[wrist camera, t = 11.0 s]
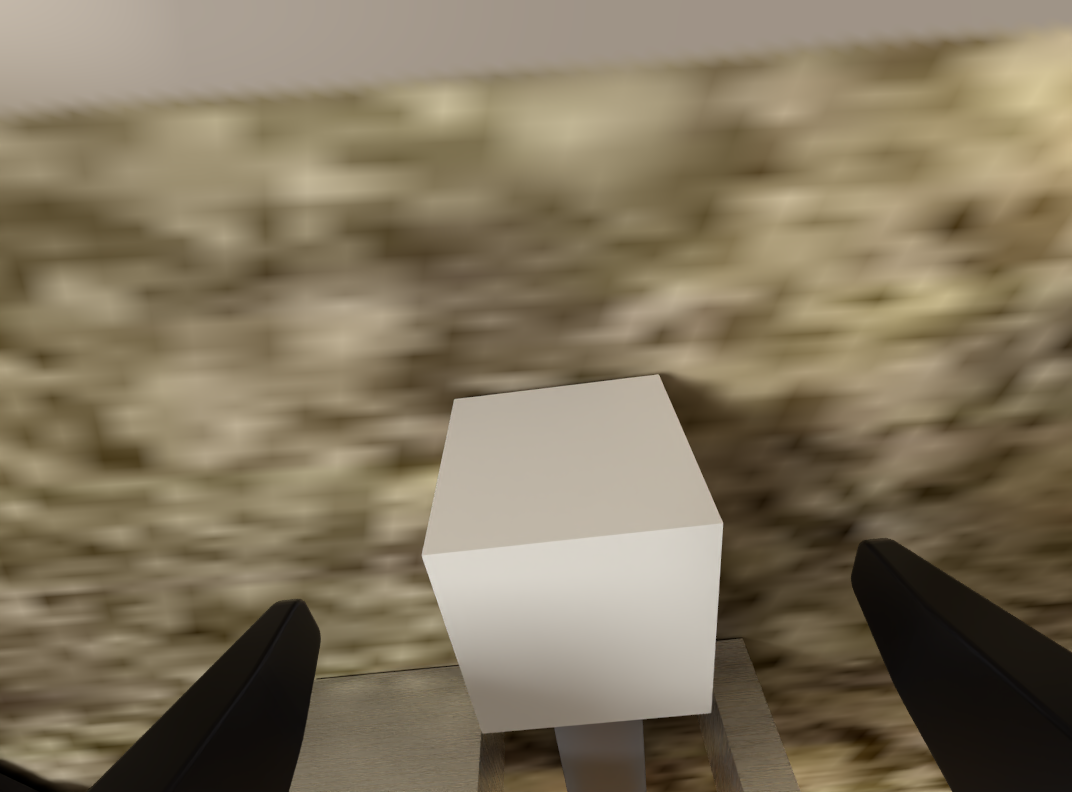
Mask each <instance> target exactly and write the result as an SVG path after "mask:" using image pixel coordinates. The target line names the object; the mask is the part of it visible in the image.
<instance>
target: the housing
mask: <svg viewBox="0 0 1072 792" xmlns="http://www.w3.org/2000/svg"><path fill="white" fill-rule="evenodd" d="M697 717H698V721H699V725H700V728H701V732H702V736H703V740H704V743H705V747H706V751H707V755H708V759H709V762H710V766H711V770H712V774H713V777H714V781H715V785H716V789H717V792H801V791H800V789H799V786H798V783H797V781H796V778H795V776H794V773H793V770H792V768H791V765H790V762H789V760H788V757H787V754H786V752H785V749H784V747H783V744H782V741H781V739H780V736H779V733H778V731H777V728H776V725H775V723H774V720H773V718H772V715H771V712H770V710H769V707H768V704H767V702H766V699H765V697H764V694H763V691H762V689H761V686H760V683H759V681H758V678H757V675H756V673H755V670H754V668H753V665H752V662H751V660H750V657H749V654H748V652H747V649H746V646H745V644H744V641H743V639H732V640H721V641H716V644H715V660H714V676H713V692H712V707H711V713H706V714H697ZM504 753H505V732H495V733H484V734H482V731H481V728H480V725H479V723H478V720H477V717H476V714H475V711H474V708H473V705H472V702H471V699H470V696H469V693H468V690H467V687H466V684H465V681H464V678H463V675H462V672H461V670H460V667H459V666H452V667H441V668H431V669H421V670H410V671H400V672H390V673H379V674H369V675H359V676H348V677H338V678H327V679H317V680H314V683H313V689H312V694H311V700H310V706H309V711H308V717H307V723H306V728H305V733H304V738H303V742H302V746H301V750H300V754H299V758H298V761H297V765H296V768H295V772H294V775H293V779H292V783H291V786H290V790H289V792H503V788H504Z"/></svg>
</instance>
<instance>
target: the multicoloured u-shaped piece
mask: <svg viewBox="0 0 1072 792" xmlns="http://www.w3.org/2000/svg"><path fill="white" fill-rule="evenodd" d="M722 534H723V522H722V519H721V517H720V515H719V512H718V510H717V508H716V505H715V503H714V501H713V498H712V496H711V494H710V492H709V489H708V487H707V485H706V482H705V480H704V478H703V475H702V473H701V471H700V468H699V466H698V464H697V462H696V459H695V457H694V455H693V452H692V450H691V448H690V445H689V443H688V441H687V438H686V436H685V434H684V431H683V429H682V427H681V425H680V422H679V420H678V418H677V415H676V413H675V411H674V408H673V406H672V404H671V401H670V399H669V397H668V395H667V392H666V390H665V388H664V385H663V383H662V381H661V378H660V376H659V374H658V375H649V376H641V377H633V378H625V379H617V380H608V381H600V382H592V383H584V384H576V385H567V386H559V387H551V388H543V389H535V390H526V391H518V392H510V393H502V394H494V395H485V396H477V397H469V398H461V399H454V403H453V408H452V413H451V418H450V422H449V427H448V432H447V437H446V442H445V446H444V451H443V456H442V461H441V466H440V470H439V475H438V480H437V485H436V490H435V494H434V499H433V504H432V509H431V514H430V518H429V523H428V528H427V533H426V538H425V542H424V547H423V552H422V558H423V561H424V564H425V567H426V570H427V572H428V575H429V578H430V581H431V584H432V587H433V590H434V593H435V596H436V599H437V602H438V605H439V608H440V611H441V614H442V617H443V620H444V622H445V625H446V628H447V631H448V634H449V637H450V640H451V643H452V646H453V649H454V652H455V655H456V658H457V661H458V664H459V667H460V670H461V672H462V675H463V678H464V681H465V684H466V687H467V690H468V693H469V696H470V699H471V702H472V705H473V708H474V711H475V714H476V717H477V720H478V723H479V725H480V728H481V731H482V734H484V733H495V732H506V731H517V730H528V729H539V728H551V727H554V730H555V734H556V739H557V744H558V749H559V753H560V758H561V763H562V768H563V772H564V777H565V782H566V787H567V791H568V792H646V774H645V756H644V737H643V719H651V718H662V717H673V716H684V715H695V714H706V713H711V707H712V692H713V676H714V660H715V644H716V629H717V613H718V597H719V581H720V566H721V550H722Z"/></svg>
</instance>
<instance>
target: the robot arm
mask: <svg viewBox="0 0 1072 792" xmlns="http://www.w3.org/2000/svg"><path fill="white" fill-rule="evenodd" d="M851 582H852V587H853V590H854V593H855V595H856V597H857V600H858V602H859V604H860V607H861V609H862V611H863V614H864V616H865V619H866V621H867V623H868V626H869V628H870V630H871V633H872V635H873V637H874V640H875V642H876V644H877V647H878V649H879V651H880V654H881V656H882V658H883V661H884V663H885V666H886V668H887V670H888V672H889V675H890V677H891V679H892V681H893V683H894V686H895V688H896V689H897V691H898V693H899V695H900V697H901V699H902V701H903V703H904V705H905V706H906V708H907V710H908V712H909V714H910V716H911V717H912V719H913V721H914V723H915V725H916V726H917V728H918V730H919V732H920V734H921V736H922V737H923V739H924V741H925V743H926V745H927V746H928V748H929V750H930V752H931V754H932V756H933V757H934V759H935V761H936V763H937V765H938V766H939V768H940V770H941V772H942V774H943V776H944V777H945V779H946V781H947V783H948V785H949V786H950V788H951V790H952V792H1072V652H1070V651H1068V650H1067V649H1065V648H1064V647H1062V646H1060V645H1059V644H1057V643H1056V642H1054V641H1053V640H1051V639H1049V638H1048V637H1046V636H1045V635H1043V634H1041V633H1040V632H1038V631H1037V630H1035V629H1034V628H1032V627H1030V626H1029V625H1027V624H1026V623H1024V622H1022V621H1021V620H1019V619H1018V618H1016V617H1014V616H1013V615H1011V614H1010V613H1008V612H1007V611H1005V610H1003V609H1002V608H1000V607H999V606H997V605H995V604H994V603H992V602H991V601H989V600H988V599H986V598H984V597H983V596H981V595H980V594H978V593H976V592H975V591H973V590H972V589H970V588H969V587H967V586H965V585H964V584H962V583H961V582H959V581H957V580H956V579H954V578H953V577H951V576H950V575H948V574H946V573H945V572H943V571H942V570H940V569H938V568H937V567H935V566H934V565H932V564H930V563H929V562H927V561H926V560H924V559H923V558H921V557H919V556H918V555H916V554H915V553H913V552H911V551H910V550H908V549H907V548H905V547H904V546H902V545H900V544H899V543H897V542H896V541H894V540H891V539H888V538H880V539H870V540H864V541H862V542H861V543H860V544H859V546H858V549H857V553H856V557H855V562H854V566H853V570H852V574H851ZM320 642H321V636H320V630H319V627H318V625H317V624H316V622H315V620H314V618H313V616H312V614H311V612H310V610H309V608H308V607H307V605H306V603H305V602H304V601H303V600H301V599H292V600H282V601H278V602H276V603H275V604H273V605H272V606H271V607H270V608H269V609H268V610H267V611H266V612H265V613H264V614H263V615H262V616H261V617H260V618H259V619H258V620H257V621H256V622H255V623H254V624H253V625H252V626H251V627H250V628H249V629H248V630H247V631H246V632H245V633H244V634H243V635H242V636H241V637H240V638H239V639H238V640H237V641H236V642H235V643H234V644H233V645H232V646H231V647H230V648H229V649H228V650H227V651H226V652H225V653H224V654H223V655H222V656H221V657H220V658H219V659H218V660H217V661H216V662H215V663H214V664H213V665H212V666H211V667H210V668H209V669H208V670H207V671H206V672H205V673H204V674H203V675H202V676H201V677H200V678H199V679H198V680H197V681H196V682H195V683H194V684H193V685H192V686H191V687H190V688H189V689H188V690H187V691H186V692H185V693H184V694H183V695H182V696H181V697H180V698H179V699H178V700H177V701H176V703H175V704H174V705H173V706H172V707H171V708H170V709H169V710H168V711H167V712H166V713H165V714H164V715H163V716H162V717H161V718H160V719H159V720H158V721H157V722H156V723H155V724H154V725H153V726H152V727H151V728H150V729H149V730H148V731H147V732H146V733H145V734H144V735H143V736H142V737H141V738H140V739H139V740H138V741H137V742H136V743H135V744H134V745H133V746H132V747H131V748H130V749H129V750H128V751H127V752H126V753H125V754H124V755H123V756H122V757H121V758H120V759H119V760H118V761H117V762H116V763H115V764H114V765H113V766H112V767H111V768H110V769H109V770H108V771H107V772H106V773H105V774H104V775H103V776H102V777H101V778H100V779H99V780H98V781H97V782H96V783H95V784H94V785H93V786H92V787H91V788H90V789H89V790H88V791H87V792H289V790H290V786H291V783H292V779H293V775H294V772H295V768H296V765H297V761H298V758H299V754H300V750H301V746H302V742H303V738H304V733H305V728H306V723H307V717H308V711H309V706H310V700H311V694H312V689H313V683H314V677H315V672H316V666H317V660H318V654H319V649H320ZM0 792H39V791H37V790H35V789H32V788H30V787H28V786H26V785H24V784H22V783H20V782H18V781H16V780H13V779H11V778H9V777H7V776H5V775H3V774H1V773H0Z"/></svg>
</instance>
